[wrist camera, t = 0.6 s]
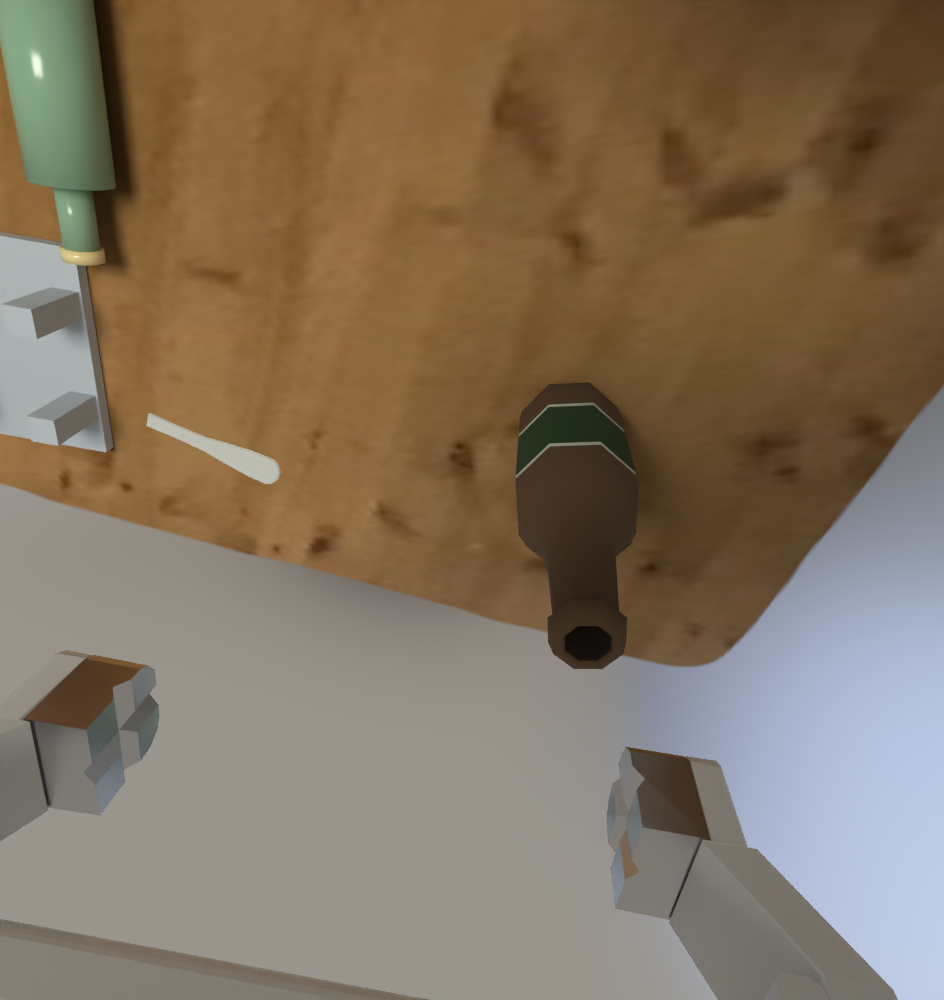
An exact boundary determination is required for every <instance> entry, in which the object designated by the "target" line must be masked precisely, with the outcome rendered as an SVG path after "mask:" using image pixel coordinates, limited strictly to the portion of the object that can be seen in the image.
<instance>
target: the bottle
mask: <svg viewBox="0 0 944 1000" xmlns="http://www.w3.org/2000/svg"><path fill="white" fill-rule="evenodd" d="M0 47H1V52H2V58H3V63H4V68H5V74H6V79H7V84H8V90H9V95H10V100H11V106H12V111H13V116H14V122H15V127H16V132H17V138H18V143H19V149H20V154H21V159H22V165H23V170H24V175H25V180H26V181H28V182H31V183H34V184H38V185H42V186H48V187H53V191H54V197H55V203H56V209H57V215H58V221H59V227H60V233H61V239H62V245H61V246H60V247H59V248H60V254H61V260H62V261H63V262H65V263H69V264H74V265H87V266H89V265H100V264H104V263H105V262H106V259H105V252H104V248H102V247H100V240H99V233H98V226H97V218H96V211H95V204H94V197H93V191H98V190H111V189H115V188H116V180H115V172H114V164H113V156H112V148H111V139H110V131H109V123H108V115H107V107H106V98H105V90H104V82H103V74H102V66H101V58H100V49H99V41H98V33H97V25H96V17H95V8H94V0H0Z"/></svg>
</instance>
